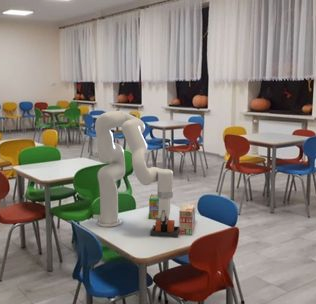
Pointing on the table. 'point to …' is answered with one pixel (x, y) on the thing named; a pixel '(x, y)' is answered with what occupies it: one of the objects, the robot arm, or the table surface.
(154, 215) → the chalk box
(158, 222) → the orange rectangular block
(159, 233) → the frame
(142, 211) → the table surface
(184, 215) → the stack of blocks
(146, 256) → the table surface
